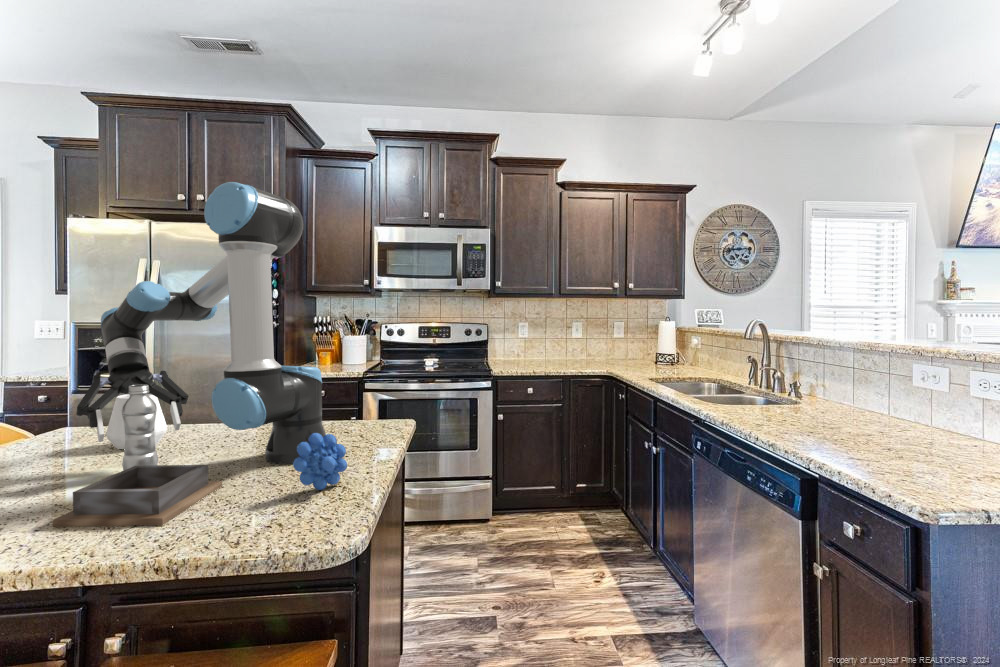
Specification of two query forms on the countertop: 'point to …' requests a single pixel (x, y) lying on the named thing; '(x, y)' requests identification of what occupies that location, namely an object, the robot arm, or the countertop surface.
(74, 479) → the countertop surface
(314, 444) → the blue bumpy flower
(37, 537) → the countertop surface
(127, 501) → the bottle dock
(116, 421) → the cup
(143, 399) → the plastic bottle
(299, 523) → the countertop surface
